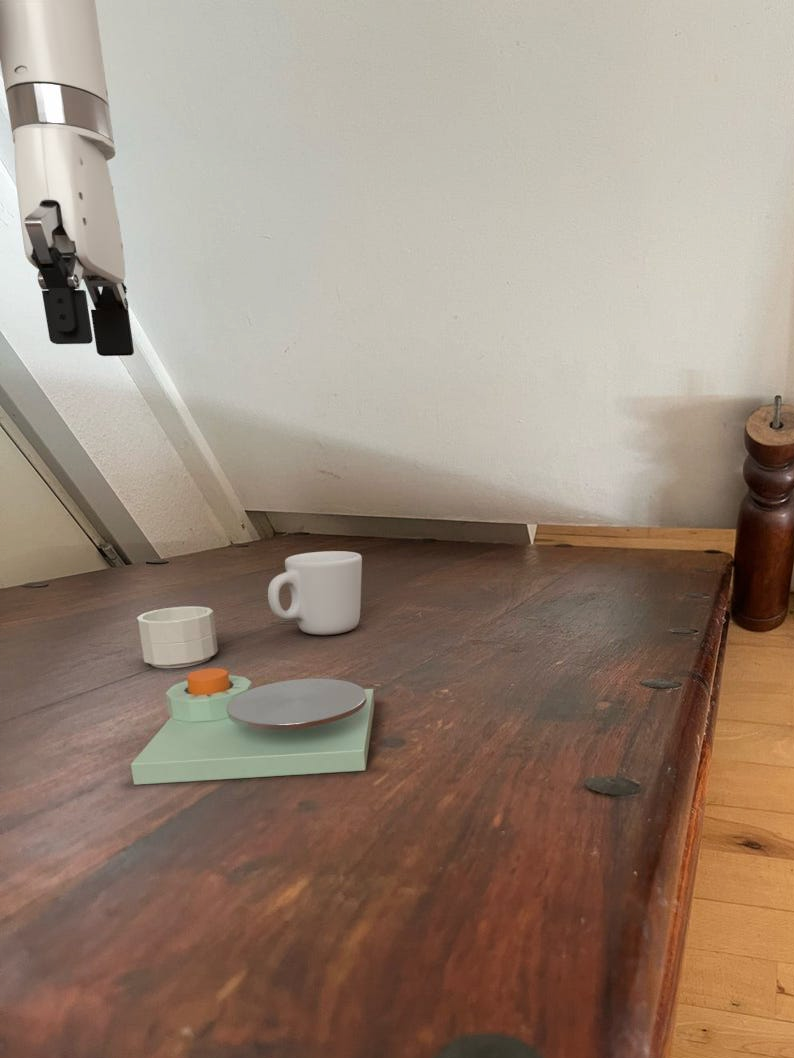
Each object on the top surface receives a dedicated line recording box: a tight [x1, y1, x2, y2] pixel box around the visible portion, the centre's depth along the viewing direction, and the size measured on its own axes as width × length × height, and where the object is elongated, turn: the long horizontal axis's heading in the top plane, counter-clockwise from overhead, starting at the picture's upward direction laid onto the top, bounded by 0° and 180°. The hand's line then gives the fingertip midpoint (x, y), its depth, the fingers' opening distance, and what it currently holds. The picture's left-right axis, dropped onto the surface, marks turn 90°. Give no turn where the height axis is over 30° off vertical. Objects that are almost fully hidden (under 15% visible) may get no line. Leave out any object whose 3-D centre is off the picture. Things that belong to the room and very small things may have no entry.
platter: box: [227, 678, 366, 730], centre depth 51 cm, size 9×9×1 cm
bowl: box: [136, 605, 219, 669], centre depth 73 cm, size 7×7×4 cm
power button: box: [186, 667, 230, 695], centre depth 55 cm, size 3×3×1 cm
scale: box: [130, 674, 375, 786], centre depth 53 cm, size 14×12×3 cm
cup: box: [267, 550, 363, 636], centre depth 81 cm, size 11×8×8 cm
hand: (95, 349), depth 68 cm, fingers open, 9 cm apart
